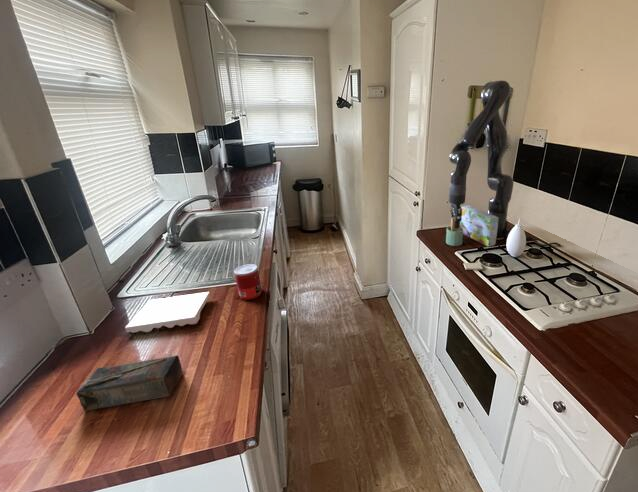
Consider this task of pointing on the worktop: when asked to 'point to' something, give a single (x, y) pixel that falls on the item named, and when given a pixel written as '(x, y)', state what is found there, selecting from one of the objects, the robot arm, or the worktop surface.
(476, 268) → the board
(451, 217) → the peg
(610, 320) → the worktop surface
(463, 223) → the snack box
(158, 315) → the food packaging
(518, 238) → the white teardrop shape
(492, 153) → the robot arm
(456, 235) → the pot
